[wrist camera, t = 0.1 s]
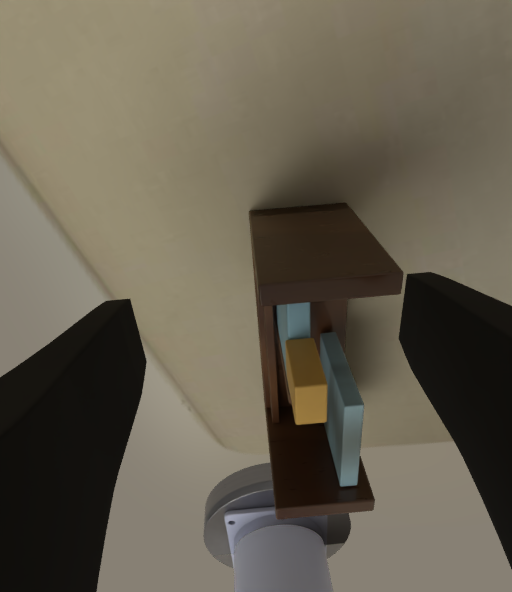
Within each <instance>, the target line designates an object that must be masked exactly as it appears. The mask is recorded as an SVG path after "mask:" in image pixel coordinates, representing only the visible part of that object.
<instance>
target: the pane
mask: <svg viewBox="0 0 512 592" xmlns="http://www.w3.org/2000/svg"><path fill="white" fill-rule="evenodd" d="M276 312H277V322H276V330H277V336H278V342H279V348H280V354H281V360H282V366H283V371H284V377H285V383H286V389H287V395H288V401H289V403H290V404H292V408H293V413H294V419H295V423H296V425H301V424H312V423H323V422H326V421H327V395H328V384H327V381H326V377H325V374H324V371H323V367H322V364H321V361H320V357H319V354H318V351H317V347H316V344H315V341H314V338H310V302H307V303H296V304H285V305H276Z"/></svg>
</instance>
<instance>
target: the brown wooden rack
mask: <svg viewBox="0 0 512 592" xmlns="http://www.w3.org/2000/svg"><path fill="white" fill-rule="evenodd" d="M249 220H250V232H251V244H252V256H253V268H254V281H255V293H256V305H257V317H258V329H259V341H260V353H261V365H262V377H263V390H264V402H265V412H266V422H267V432H268V442H269V453H270V463H271V473H272V483H273V493H274V503H275V513H276V518H277V519H289V518H299V517H310V516H320V515H331V514H341V513H352V512H362V511H372V510H373V509H374V502H375V499H374V496H373V493H372V490H371V487H370V484H369V481H368V478H367V475H366V472H365V469H364V466H363V463H362V460H361V456H360V448H361V436H362V425H363V413H364V403H363V401H362V398H361V396H360V393H359V391H358V388H357V385H356V383H355V380H354V378H353V375H352V373H351V370H350V367H349V365H348V362H347V360H346V357H345V337H346V317H347V299H352V298H363V297H374V296H386V295H397V294H401V289H402V281H403V271H402V270H401V269H400V267H399V266H398V265H397V264H396V263H395V261H394V260H393V259H392V258H391V256H390V255H389V254H388V253H387V252H386V250H385V249H384V248H383V247H382V246H381V244H380V243H379V242H378V241H377V239H376V238H375V237H374V236H373V235H372V233H371V232H370V231H369V230H368V229H367V227H366V226H365V225H364V224H363V222H362V221H361V220H360V219H359V218H358V216H357V215H356V214H355V213H354V212H353V210H352V209H351V208H350V207H349V206H348V204H347V203H336V204H324V205H312V206H301V207H289V208H278V209H266V210H255V211H249ZM307 302H310V338H314V341H315V344H316V347H317V351H318V354H319V357H320V361H321V364H322V367H323V371H324V374H325V377H326V381H327V384H328V395H327V421H326V422H323V423H312V424H301V425H296V423H295V419H294V413H293V408H292V404H290V403H289V401H288V395H287V389H286V383H285V377H284V371H283V366H282V360H281V354H280V348H279V342H278V336H277V330H276V322H277V312H276V305H285V304H296V303H307Z"/></svg>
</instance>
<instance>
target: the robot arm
mask: <svg viewBox="0 0 512 592" xmlns="http://www.w3.org/2000/svg"><path fill="white" fill-rule="evenodd" d="M399 340H400V343H401V345H402V348H403V351H404V353H405V356H406V358H407V360H408V363H409V365H410V367H411V370H412V371H413V373H414V375H415V377H416V378H417V380H418V382H419V383H420V385H421V387H422V389H423V390H424V392H425V394H426V395H427V397H428V399H429V400H430V402H431V404H432V405H433V407H434V409H435V410H436V412H437V414H438V415H439V417H440V418H441V420H442V422H443V423H444V425H445V427H446V428H447V430H448V432H449V433H450V435H451V437H452V438H453V440H454V442H455V444H456V445H457V447H458V449H459V451H460V453H461V455H462V456H463V459H464V461H465V463H466V465H467V467H468V469H469V471H470V474H471V475H472V478H473V480H474V482H475V484H476V486H477V489H478V491H479V493H480V495H481V497H482V499H483V502H484V504H485V506H486V509H487V511H488V513H489V516H490V518H491V520H492V523H493V525H494V527H495V530H496V532H497V534H498V536H499V539H500V541H501V544H502V546H503V549H504V551H505V554H506V556H507V559H508V561H509V563H510V566H511V569H512V306H510V305H508V304H506V303H503V302H501V301H499V300H496V299H494V298H492V297H490V296H487V295H485V294H483V293H481V292H478V291H476V290H474V289H472V288H469V287H467V286H465V285H463V284H460V283H458V282H456V281H453V280H451V279H449V278H446V277H444V276H441V275H438V274H435V273H432V272H426V273H415V274H407V279H406V286H405V294H404V302H403V309H402V317H401V325H400V332H399ZM145 369H146V358H145V354H144V350H143V346H142V342H141V339H140V335H139V331H138V327H137V324H136V320H135V316H134V312H133V308H132V305H131V301H130V299H122V300H111V301H106V302H104V303H102V304H101V305H99V306H98V307H96V308H95V309H94V310H92V311H91V312H90V313H88V314H87V315H86V316H84V317H83V318H82V319H81V320H79V321H78V322H77V323H75V324H74V325H73V326H72V327H70V328H69V329H68V330H66V331H65V332H64V333H62V334H61V335H60V336H58V337H57V338H56V339H54V340H53V341H52V342H51V343H49V344H48V345H46V346H45V347H44V348H42V349H41V350H39V351H38V352H36V353H35V354H34V355H32V356H31V357H29V358H28V359H27V360H25V361H24V362H23V363H21V364H20V365H18V366H17V367H15V368H14V369H12V370H11V371H9V372H8V373H6V374H5V375H3V376H2V377H0V592H96V591H97V583H98V577H99V571H100V565H101V558H102V553H103V546H104V540H105V535H106V529H107V524H108V519H109V513H110V508H111V502H112V497H113V492H114V487H115V484H116V480H117V476H118V472H119V469H120V465H121V462H122V459H123V456H124V452H125V449H126V446H127V442H128V439H129V436H130V432H131V429H132V426H133V422H134V419H135V415H136V412H137V409H138V405H139V402H140V398H141V395H142V389H143V382H144V376H145ZM327 519H328V515H320V516H310V517H299V518H289V519H277V518H276V513H275V506H273V507H262V508H252V509H241V510H231V511H227V512H226V513H225V524H226V530H227V535H228V540H229V546H230V551H231V556H232V562H233V567H234V592H333V588H332V583H331V578H330V573H329V568H328V562H327V557H326V552H327Z"/></svg>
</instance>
